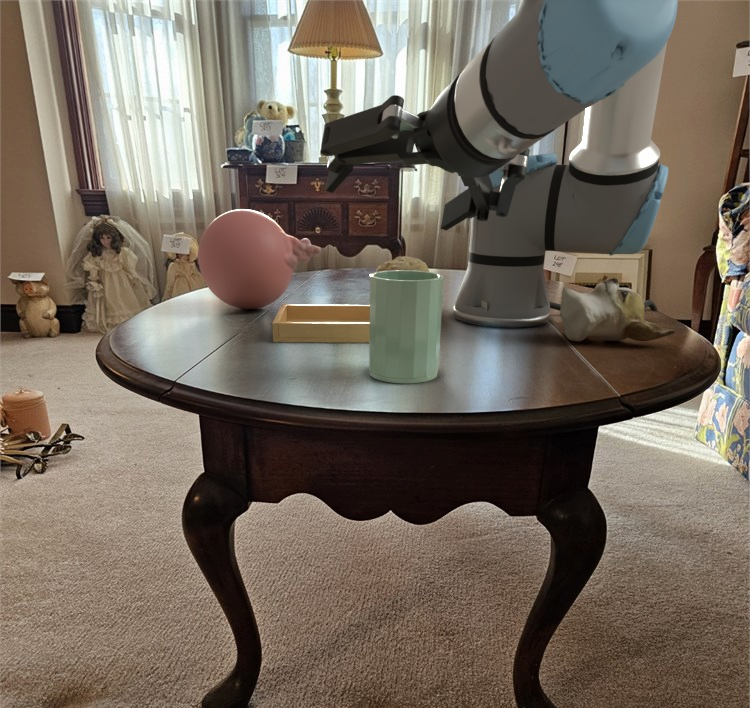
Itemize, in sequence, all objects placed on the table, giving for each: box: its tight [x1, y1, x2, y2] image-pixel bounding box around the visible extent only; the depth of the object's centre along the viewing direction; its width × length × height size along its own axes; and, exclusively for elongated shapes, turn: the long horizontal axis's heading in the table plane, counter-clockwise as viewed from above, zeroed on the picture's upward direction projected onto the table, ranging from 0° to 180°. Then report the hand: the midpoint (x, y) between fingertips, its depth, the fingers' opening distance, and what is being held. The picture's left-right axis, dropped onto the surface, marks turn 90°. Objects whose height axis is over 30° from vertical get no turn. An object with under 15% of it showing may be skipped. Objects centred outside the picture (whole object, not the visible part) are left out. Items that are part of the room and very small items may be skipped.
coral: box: [376, 255, 430, 272], centre depth 115 cm, size 9×9×8 cm
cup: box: [368, 270, 445, 384], centre depth 74 cm, size 8×8×11 cm
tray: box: [271, 304, 370, 344], centre depth 95 cm, size 18×14×3 cm
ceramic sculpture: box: [559, 277, 676, 342], centre depth 91 cm, size 11×9×15 cm
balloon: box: [197, 208, 322, 310], centre depth 107 cm, size 15×20×15 cm
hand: (390, 199), depth 71 cm, fingers open, 13 cm apart
